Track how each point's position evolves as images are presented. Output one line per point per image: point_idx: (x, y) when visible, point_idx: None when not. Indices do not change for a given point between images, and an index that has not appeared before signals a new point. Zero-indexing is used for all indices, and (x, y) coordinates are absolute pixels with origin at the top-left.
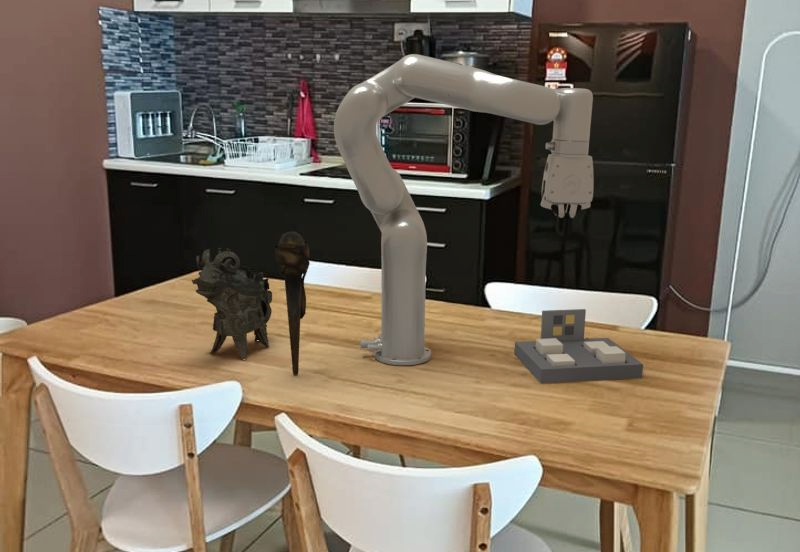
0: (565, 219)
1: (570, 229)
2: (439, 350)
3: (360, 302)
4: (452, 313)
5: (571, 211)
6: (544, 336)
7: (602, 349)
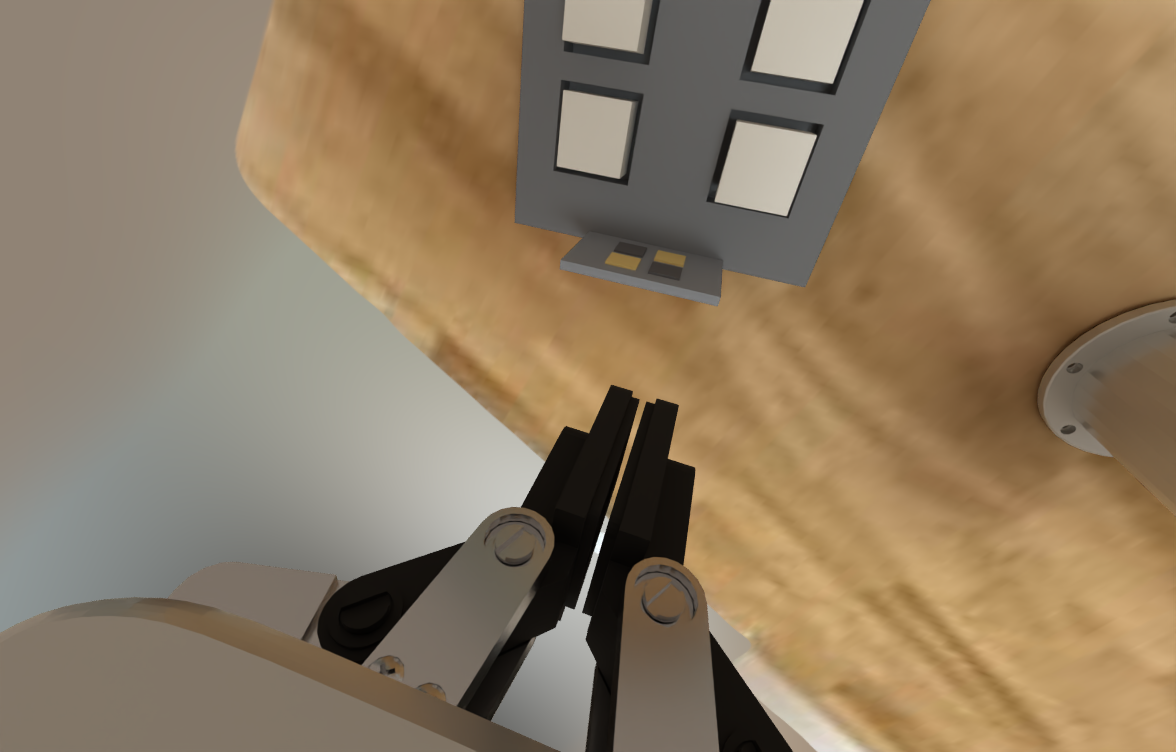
0: (628, 515)
1: (573, 434)
2: (984, 382)
3: (882, 680)
4: (738, 560)
5: (512, 588)
6: (713, 263)
7: (631, 13)
